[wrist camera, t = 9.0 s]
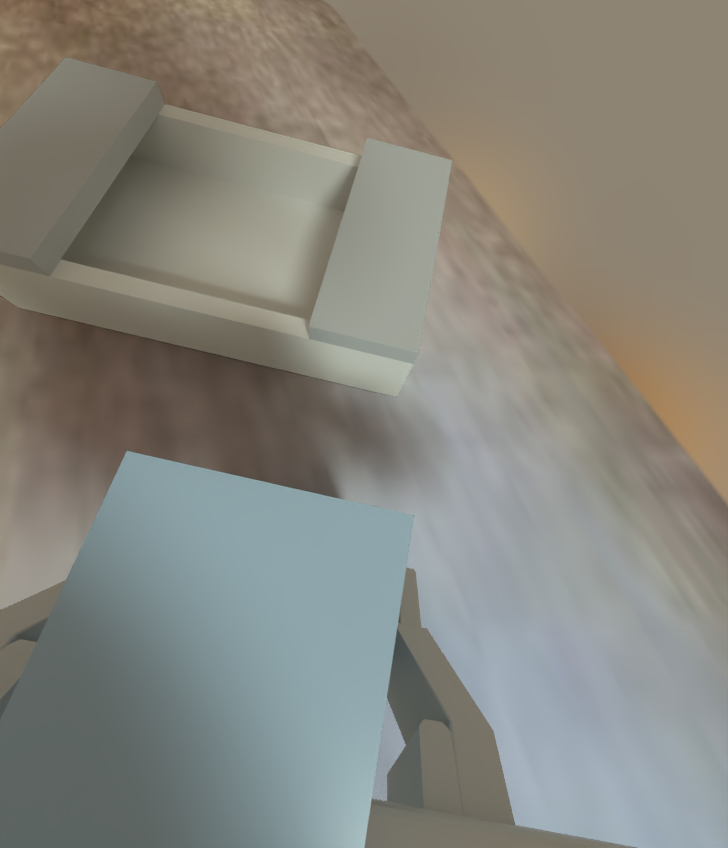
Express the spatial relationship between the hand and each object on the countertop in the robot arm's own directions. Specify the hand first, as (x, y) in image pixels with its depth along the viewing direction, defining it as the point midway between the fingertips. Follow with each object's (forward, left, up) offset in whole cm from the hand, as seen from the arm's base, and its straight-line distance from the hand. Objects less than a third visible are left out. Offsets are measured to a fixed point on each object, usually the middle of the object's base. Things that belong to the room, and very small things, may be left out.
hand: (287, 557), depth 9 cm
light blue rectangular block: (0, -1, -7) cm, 7 cm away
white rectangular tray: (-8, +15, -7) cm, 19 cm away
